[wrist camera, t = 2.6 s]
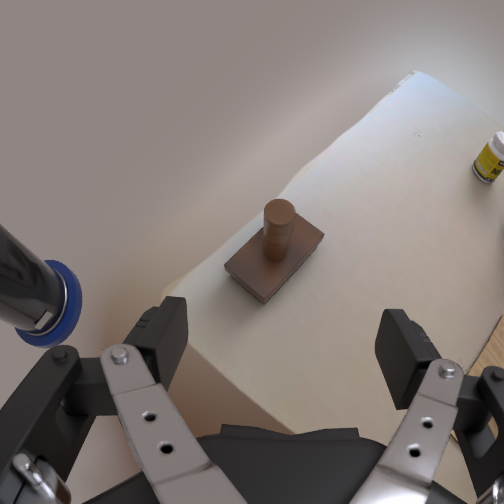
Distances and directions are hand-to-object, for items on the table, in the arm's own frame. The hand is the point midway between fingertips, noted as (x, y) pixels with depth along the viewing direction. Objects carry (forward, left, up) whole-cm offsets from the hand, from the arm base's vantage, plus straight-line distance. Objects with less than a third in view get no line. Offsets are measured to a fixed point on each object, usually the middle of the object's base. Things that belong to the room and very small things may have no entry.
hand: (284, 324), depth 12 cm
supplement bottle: (+37, +27, -20) cm, 50 cm away
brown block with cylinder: (+1, +12, -20) cm, 23 cm away
